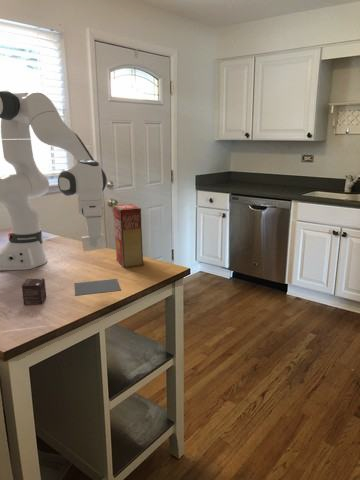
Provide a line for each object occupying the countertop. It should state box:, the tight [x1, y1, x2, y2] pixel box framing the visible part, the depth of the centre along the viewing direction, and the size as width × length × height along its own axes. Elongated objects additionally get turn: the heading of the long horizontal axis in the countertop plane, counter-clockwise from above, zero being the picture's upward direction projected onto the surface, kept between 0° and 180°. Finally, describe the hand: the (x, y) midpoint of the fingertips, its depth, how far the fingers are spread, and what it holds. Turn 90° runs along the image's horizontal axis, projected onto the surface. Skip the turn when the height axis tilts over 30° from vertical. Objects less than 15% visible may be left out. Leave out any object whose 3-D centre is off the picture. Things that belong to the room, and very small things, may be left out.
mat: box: [74, 278, 122, 297], centre depth 142 cm, size 16×12×1 cm
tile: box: [81, 233, 107, 252], centre depth 139 cm, size 8×2×5 cm, turn 106°
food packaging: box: [112, 203, 144, 269], centre depth 168 cm, size 13×9×25 cm
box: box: [21, 278, 47, 306], centre depth 129 cm, size 6×6×7 cm
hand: (94, 245), depth 139 cm, fingers closed on tile, 2 cm apart
